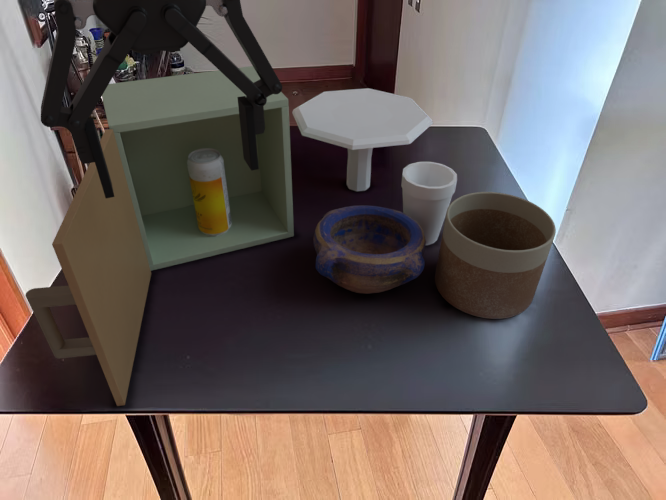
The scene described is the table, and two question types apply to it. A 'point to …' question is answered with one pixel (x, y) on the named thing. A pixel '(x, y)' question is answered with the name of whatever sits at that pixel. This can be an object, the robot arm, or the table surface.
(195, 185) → the beer can
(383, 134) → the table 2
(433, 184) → the foam cup
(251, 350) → the table surface
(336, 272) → the bowl
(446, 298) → the planter
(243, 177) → the cupboard
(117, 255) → the cupboard door
